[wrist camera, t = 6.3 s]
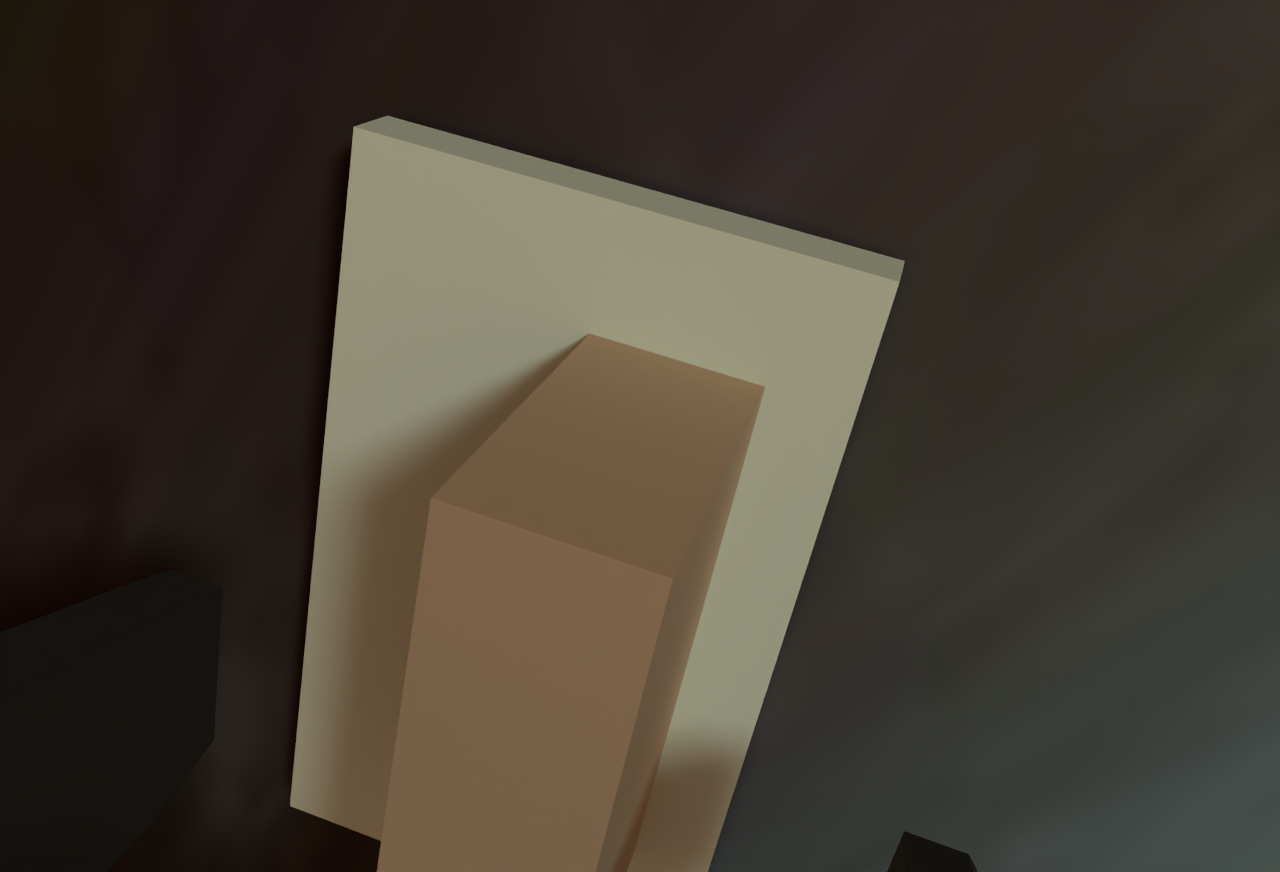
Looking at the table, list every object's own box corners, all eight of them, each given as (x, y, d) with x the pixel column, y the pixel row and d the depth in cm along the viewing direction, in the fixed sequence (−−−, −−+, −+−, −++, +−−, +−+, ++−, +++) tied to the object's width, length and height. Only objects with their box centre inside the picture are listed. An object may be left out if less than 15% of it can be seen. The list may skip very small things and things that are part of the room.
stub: (693, 912, 17) (590, 1257, 12) (317, 770, 18) (100, 1046, 13) (904, 260, 12) (859, 446, 8) (387, 116, 13) (95, 210, 9)
